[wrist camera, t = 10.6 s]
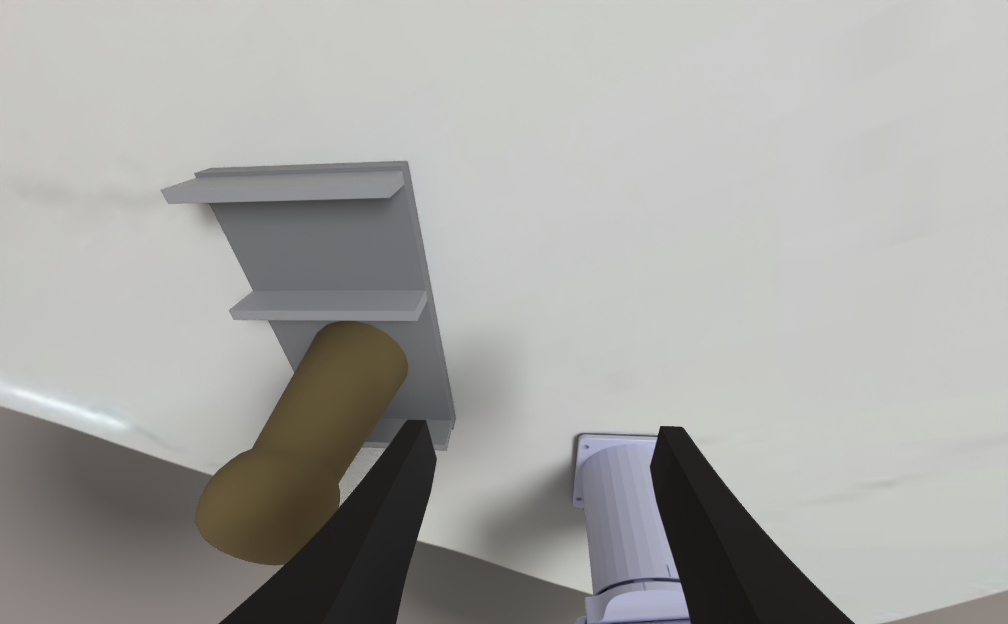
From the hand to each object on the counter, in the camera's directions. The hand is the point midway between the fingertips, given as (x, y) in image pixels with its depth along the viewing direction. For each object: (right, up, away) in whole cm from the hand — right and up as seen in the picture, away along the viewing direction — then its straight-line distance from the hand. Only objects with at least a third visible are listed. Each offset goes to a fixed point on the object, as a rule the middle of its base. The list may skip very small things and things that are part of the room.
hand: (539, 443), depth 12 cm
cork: (-10, +1, +12) cm, 16 cm away
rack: (-10, +4, +11) cm, 15 cm away
